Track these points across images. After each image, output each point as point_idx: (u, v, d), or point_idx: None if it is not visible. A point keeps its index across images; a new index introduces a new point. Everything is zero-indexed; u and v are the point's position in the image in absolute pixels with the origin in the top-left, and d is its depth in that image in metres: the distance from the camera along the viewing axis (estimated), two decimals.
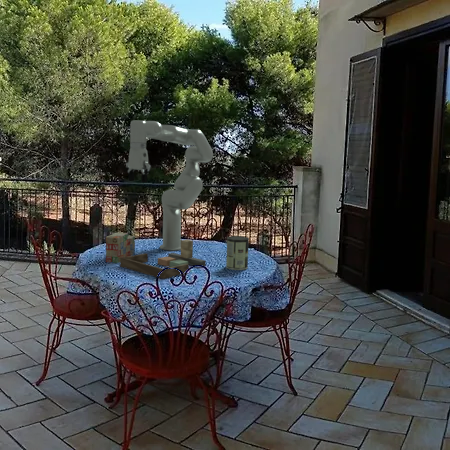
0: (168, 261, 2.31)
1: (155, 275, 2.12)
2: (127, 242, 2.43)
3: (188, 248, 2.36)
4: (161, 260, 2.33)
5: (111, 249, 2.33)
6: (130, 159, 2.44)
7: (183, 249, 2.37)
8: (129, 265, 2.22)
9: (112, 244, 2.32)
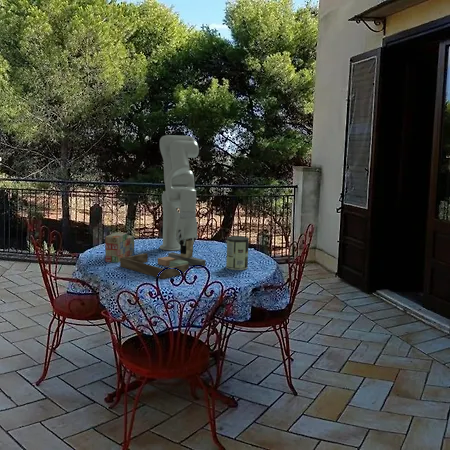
0: (167, 261, 2.31)
1: (155, 275, 2.12)
2: (126, 242, 2.44)
3: (188, 248, 2.36)
4: (161, 260, 2.33)
5: (110, 248, 2.34)
6: (186, 229, 2.33)
7: None
8: (129, 265, 2.22)
9: (112, 243, 2.33)
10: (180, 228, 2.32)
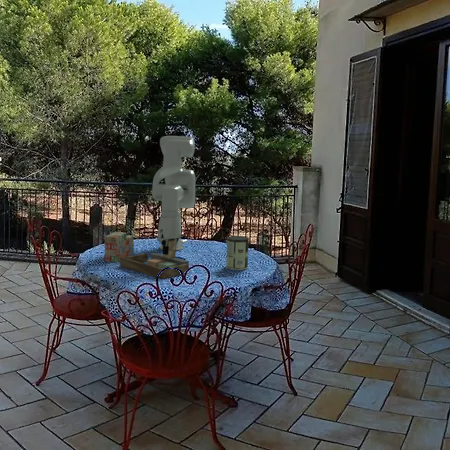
0: (157, 263, 2.26)
1: (155, 275, 2.12)
2: (126, 241, 2.45)
3: (170, 248, 2.27)
4: (150, 262, 2.27)
5: (109, 248, 2.34)
6: (168, 229, 2.24)
7: None
8: (129, 265, 2.22)
9: (111, 243, 2.33)
10: (162, 228, 2.24)
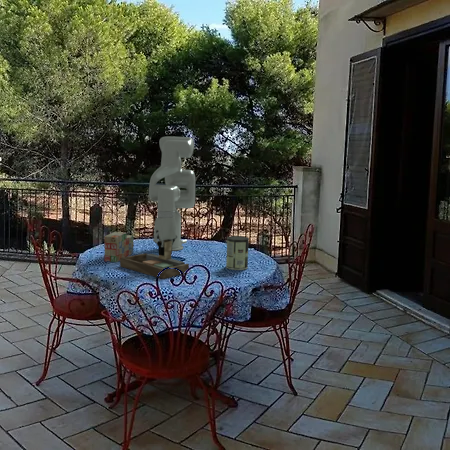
0: (153, 264, 2.24)
1: (155, 275, 2.12)
2: (126, 241, 2.45)
3: (166, 249, 2.25)
4: (146, 263, 2.25)
5: (109, 248, 2.34)
6: (164, 230, 2.22)
7: None
8: (129, 265, 2.22)
9: (111, 243, 2.34)
10: (158, 228, 2.22)
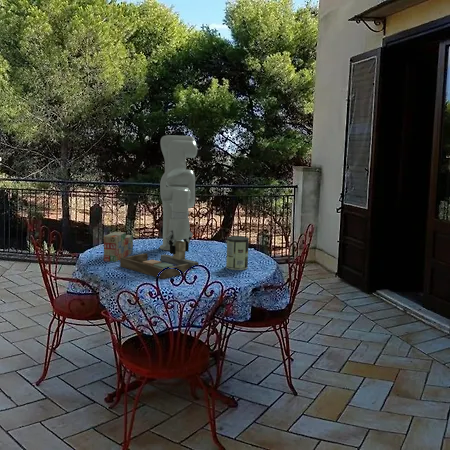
0: (153, 264, 2.24)
1: (155, 275, 2.12)
2: (125, 241, 2.45)
3: (180, 249, 2.32)
4: (146, 263, 2.25)
5: (108, 248, 2.35)
6: (178, 230, 2.29)
7: None
8: (129, 265, 2.22)
9: (110, 243, 2.34)
10: (172, 229, 2.29)
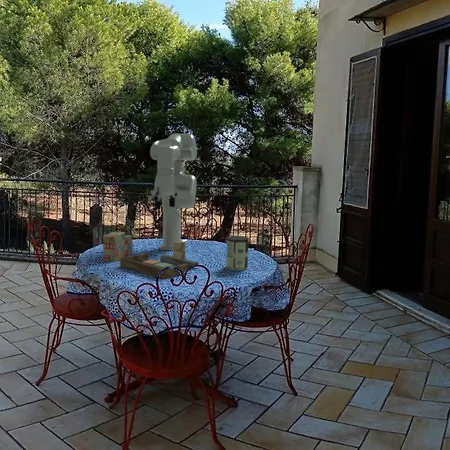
0: None
1: (155, 275, 2.12)
2: (124, 241, 2.46)
3: (180, 249, 2.32)
4: (146, 263, 2.25)
5: (108, 247, 2.35)
6: (164, 186, 2.35)
7: (175, 251, 2.33)
8: (129, 265, 2.22)
9: (109, 242, 2.34)
10: (158, 185, 2.34)
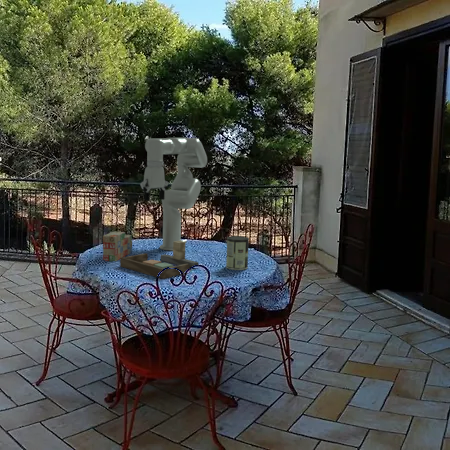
0: None
1: (155, 275, 2.12)
2: (124, 241, 2.46)
3: (180, 249, 2.32)
4: (146, 263, 2.25)
5: (108, 247, 2.35)
6: (153, 178, 2.40)
7: (175, 251, 2.33)
8: (129, 265, 2.22)
9: (109, 242, 2.35)
10: (147, 177, 2.39)
